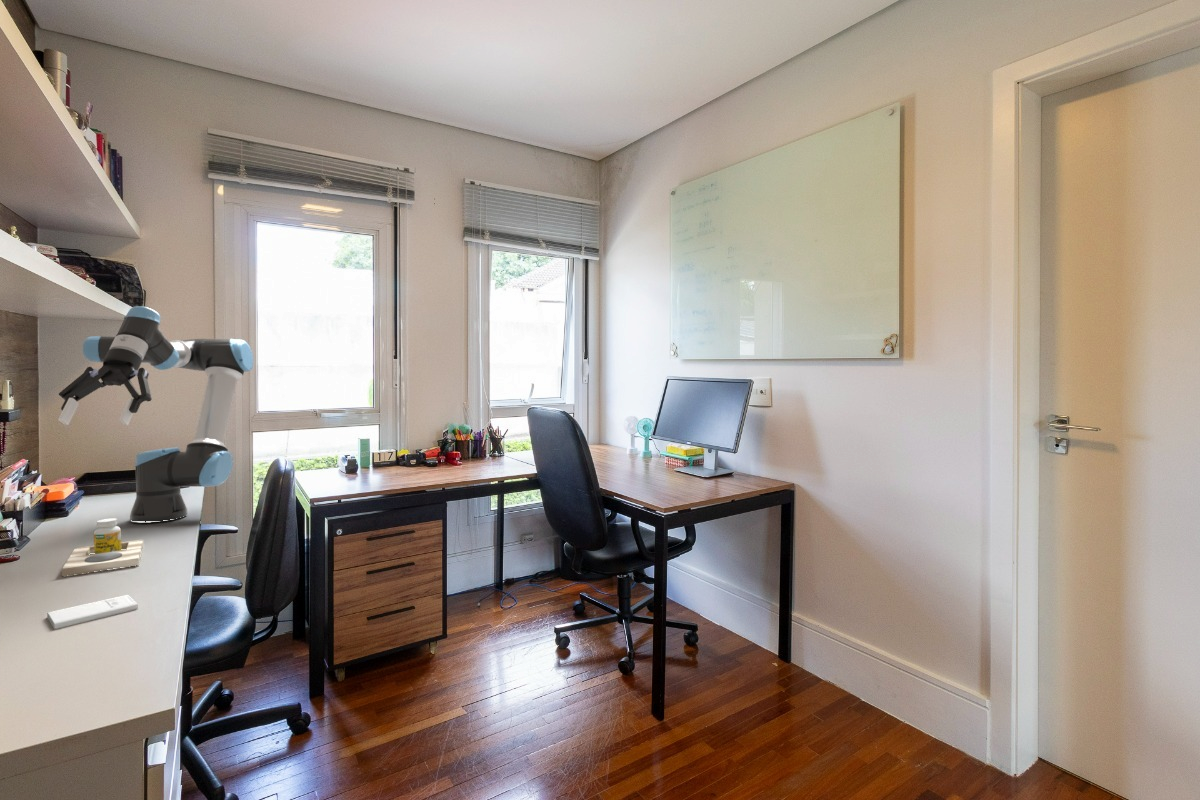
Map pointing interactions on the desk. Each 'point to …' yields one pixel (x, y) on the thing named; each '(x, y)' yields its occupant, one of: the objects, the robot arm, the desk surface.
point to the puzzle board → (103, 558)
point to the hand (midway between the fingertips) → (93, 422)
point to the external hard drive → (91, 611)
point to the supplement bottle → (107, 536)
